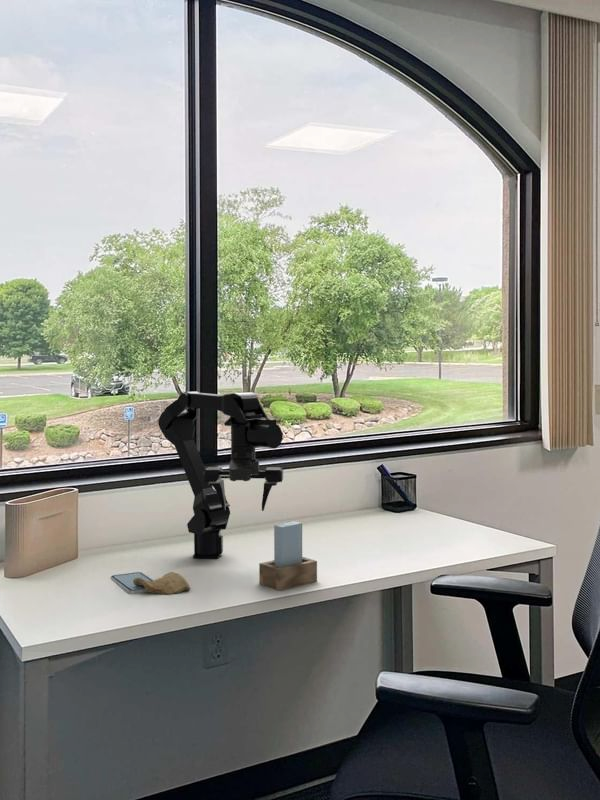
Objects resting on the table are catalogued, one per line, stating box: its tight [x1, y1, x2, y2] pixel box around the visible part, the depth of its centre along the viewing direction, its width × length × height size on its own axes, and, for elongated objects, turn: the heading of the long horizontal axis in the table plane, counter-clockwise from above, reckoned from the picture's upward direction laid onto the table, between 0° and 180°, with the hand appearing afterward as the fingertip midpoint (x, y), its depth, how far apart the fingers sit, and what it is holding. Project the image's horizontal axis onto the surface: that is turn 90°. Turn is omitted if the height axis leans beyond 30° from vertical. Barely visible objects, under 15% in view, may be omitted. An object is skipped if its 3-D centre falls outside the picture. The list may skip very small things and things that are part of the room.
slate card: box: [273, 520, 303, 568], centre depth 173 cm, size 6×2×13 cm, turn 132°
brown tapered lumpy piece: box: [133, 571, 191, 596], centre depth 169 cm, size 11×4×10 cm
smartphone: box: [110, 571, 154, 595], centre depth 173 cm, size 7×1×15 cm
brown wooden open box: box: [258, 556, 318, 592], centre depth 173 cm, size 11×7×4 cm, turn 132°
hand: (243, 510), depth 188 cm, fingers open, 9 cm apart
